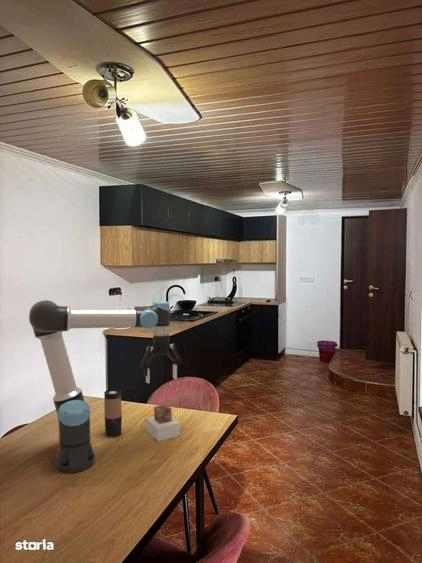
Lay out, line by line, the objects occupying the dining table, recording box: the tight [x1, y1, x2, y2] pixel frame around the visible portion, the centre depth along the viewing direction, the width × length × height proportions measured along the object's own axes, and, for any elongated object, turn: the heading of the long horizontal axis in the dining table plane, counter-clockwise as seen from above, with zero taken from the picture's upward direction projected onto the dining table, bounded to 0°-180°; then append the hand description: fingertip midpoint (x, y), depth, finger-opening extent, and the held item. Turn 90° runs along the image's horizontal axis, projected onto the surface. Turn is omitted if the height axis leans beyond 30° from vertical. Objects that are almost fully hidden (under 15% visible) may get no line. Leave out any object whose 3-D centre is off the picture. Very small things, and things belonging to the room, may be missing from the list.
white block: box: [145, 415, 181, 442], centre depth 186 cm, size 11×14×6 cm
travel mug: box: [103, 388, 123, 438], centre depth 185 cm, size 8×8×20 cm
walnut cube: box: [153, 404, 173, 424], centre depth 186 cm, size 6×6×6 cm
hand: (161, 380), depth 185 cm, fingers open, 13 cm apart
